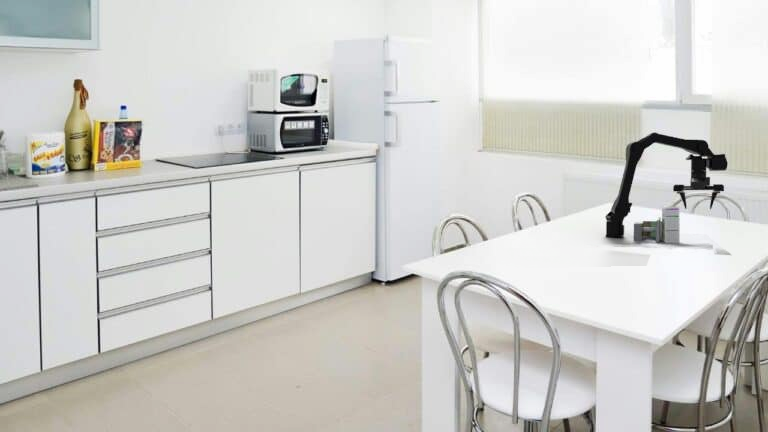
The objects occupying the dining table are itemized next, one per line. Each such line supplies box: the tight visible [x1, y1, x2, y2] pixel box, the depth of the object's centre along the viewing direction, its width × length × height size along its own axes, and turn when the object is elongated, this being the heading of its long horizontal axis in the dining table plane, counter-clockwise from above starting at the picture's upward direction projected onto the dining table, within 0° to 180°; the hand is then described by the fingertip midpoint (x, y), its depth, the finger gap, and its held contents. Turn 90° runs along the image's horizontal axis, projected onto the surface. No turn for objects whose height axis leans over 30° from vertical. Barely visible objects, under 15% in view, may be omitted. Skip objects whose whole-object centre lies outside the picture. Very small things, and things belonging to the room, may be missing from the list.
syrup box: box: [661, 205, 681, 244], centre depth 269 cm, size 6×6×14 cm
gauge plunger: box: [642, 216, 662, 243], centre depth 275 cm, size 10×13×9 cm
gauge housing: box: [633, 220, 662, 242], centre depth 274 cm, size 10×11×8 cm
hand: (698, 209), depth 275 cm, fingers open, 9 cm apart
